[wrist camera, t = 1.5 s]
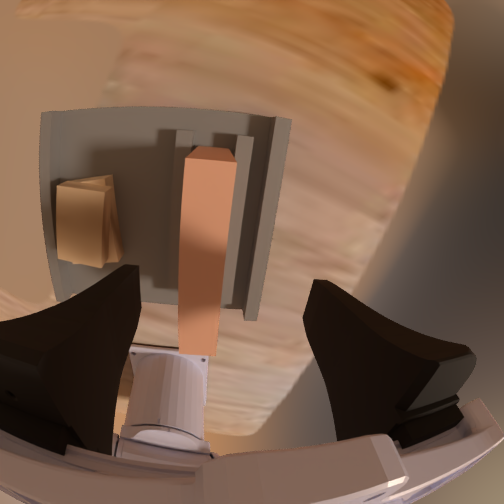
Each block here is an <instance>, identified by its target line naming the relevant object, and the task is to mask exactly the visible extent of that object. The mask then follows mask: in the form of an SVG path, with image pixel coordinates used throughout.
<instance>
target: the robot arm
mask: <svg viewBox="0 0 504 504" xmlns="http://www.w3.org/2000/svg"><path fill="white" fill-rule="evenodd" d="M141 308H142V307H141V292H140V273H139V265H130V264H124V265H122V266H121V267H119V268H118V269H116V270H114V271H113V272H112V273H110V274H109V275H107V276H106V277H104V278H103V279H101V280H100V281H98V282H97V283H95V284H94V285H92V286H90V287H89V288H87V289H85V290H84V291H82V292H80V293H79V294H77V295H75V296H73V297H72V298H70V299H68V300H66V301H64V302H61V303H59V304H57V305H55V306H52V307H50V308H47V309H45V310H42V311H39V312H37V313H34V314H31V315H27V316H24V317H20V318H16V319H12V320H7V321H1V322H0V490H1V491H3V492H5V493H7V494H8V495H10V496H12V497H14V498H15V499H17V500H19V501H21V502H23V503H25V504H411V503H413V502H415V501H417V500H419V499H420V498H422V497H424V496H426V495H428V494H430V493H431V492H433V491H435V490H437V489H438V488H440V487H442V486H443V485H445V484H447V483H448V482H450V481H452V480H453V479H455V478H456V477H457V476H459V475H461V474H462V473H464V472H465V471H467V470H468V469H469V468H471V467H472V466H473V465H475V464H476V463H477V462H478V461H480V460H481V459H482V458H483V457H484V456H486V455H487V454H488V453H489V452H490V451H491V450H492V449H494V448H495V447H496V446H497V445H498V444H499V443H500V442H501V441H502V440H503V439H504V433H503V432H502V430H501V429H500V427H499V425H498V424H497V423H496V421H495V419H494V418H493V416H492V415H491V414H490V412H489V411H488V409H487V408H486V406H485V405H484V403H483V402H482V400H481V399H480V398H477V399H475V400H473V401H471V402H469V403H467V404H465V405H464V406H462V407H461V408H460V409H459V408H458V406H457V405H456V404H457V403H458V402H459V398H458V396H457V395H456V393H457V392H458V391H459V389H460V388H461V387H462V386H463V384H464V383H465V382H466V380H467V379H468V378H469V376H470V375H471V373H472V371H473V369H474V367H475V365H476V355H475V354H474V353H473V352H472V351H471V349H470V348H469V347H467V346H466V345H462V344H457V343H452V342H448V341H443V340H440V339H436V338H433V337H430V336H427V335H424V334H421V333H418V332H416V331H414V330H411V329H409V328H406V327H404V326H402V325H400V324H398V323H396V322H394V321H392V320H390V319H388V318H386V317H384V316H382V315H381V314H379V313H378V312H376V311H374V310H373V309H371V308H369V307H368V306H366V305H365V304H363V303H362V302H360V301H358V300H357V299H356V298H354V297H353V296H351V295H350V294H349V293H347V292H346V291H344V290H343V289H341V288H340V287H338V286H337V285H335V284H333V283H332V282H330V281H328V280H318V279H314V280H313V284H312V288H311V291H310V294H309V298H308V301H307V305H306V308H305V311H304V315H303V323H304V327H305V331H306V335H307V338H308V341H309V344H310V346H311V349H312V351H313V354H314V356H315V359H316V361H317V363H318V366H319V368H320V371H321V373H322V376H323V379H324V381H325V384H326V387H327V392H328V396H329V400H330V404H331V408H332V413H333V418H334V424H335V430H336V436H337V442H332V443H326V444H319V445H313V446H306V447H298V448H289V449H278V450H265V451H252V452H243V453H235V454H226V455H223V456H219V455H218V454H217V453H214V452H210V442H207V441H204V415H203V406H205V405H206V390H207V371H208V356H204V355H188V354H179V349H172V348H162V347H152V346H143V345H135V344H132V341H133V338H134V335H135V332H136V329H137V326H138V322H139V317H140V312H141ZM128 352H129V355H130V360H131V365H132V370H133V374H134V380H133V385H132V389H131V394H130V399H129V404H128V409H127V414H126V419H125V424H124V425H122V428H121V433H120V438H119V435H118V434H116V433H113V427H114V417H115V409H116V402H117V395H118V389H119V384H120V378H121V374H122V371H123V367H124V364H125V361H126V358H127V355H128ZM134 352H135V353H134ZM202 358H204V359H202Z"/></svg>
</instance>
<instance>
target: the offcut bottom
mask: <svg viewBox="0 0 504 504" xmlns="http://www.w3.org/2000/svg"><path fill="white" fill-rule="evenodd" d="M72 181H74V182H81V183H89V184H96V185H103V186H110V187H113V190H112V201H111V213H110V228H109V254H108V260H107V261H106V263H110V262H119V260H120V259H121V257H122V256H123V254H124V250H123V245H122V239H121V233H120V227H119V221H118V215H117V208H116V200H115V192H114V184H113V174H112V175H105V176H98V177H91V178H84V179H78V180H72ZM72 263H73V264H79V263H74V262H72Z"/></svg>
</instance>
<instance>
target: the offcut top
mask: <svg viewBox="0 0 504 504" xmlns="http://www.w3.org/2000/svg"><path fill="white" fill-rule="evenodd" d="M112 190H113V187H110V186H103V185H96V184H89V183H81V182H74V181H66V182H63V183H61V184H59V185H57V196H56V234H57V255H58V259H61V260H65V261H70V262H74V263H79V264H83V265H88V266H93V267H98V268H102V267H103V265H104V264H105V263H106V261H107V260H108V254H109V228H110V213H111V201H112Z"/></svg>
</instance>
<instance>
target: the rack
mask: <svg viewBox="0 0 504 504" xmlns="http://www.w3.org/2000/svg"><path fill="white" fill-rule="evenodd" d="M291 122H292V119H287V118H282V117H266V116H260V115H253V114H245V113H237V112H229V111H219V110H208V109H195V108H178V107H107V108H91V109H79V110H68V111H49V112H42V113H41V125H40V126H41V127H40V146H39V174H40V175H39V178H40V197H41V210H42V221H43V230H44V238H45V245H46V251H47V257H48V263H49V268H50V273H51V278H52V283H53V288H54V292H55V296H56V300H57V301H59V302H64V301H66V300H68V299H69V298H70V296H71V295H72V293H75V294H79V293H80V292H82V291H84V290H85V289H87V288H89V287H90V286H92V285H94V284H95V283H97V282H98V281H100V280H101V279H103V278H104V277H106V276H107V275H109V274H110V273H112V272H113V271H114V270H116V269H118V268H119V267H121V266H122V265H124V264H130V265H139V273H140V292H141V302H149V303H160V304H171V305H178V275H179V242H180V221H181V205H182V191H183V178H184V167H185V158H186V157H187V156H188V155H189V154H190V153H191V152H192V151H193V150H195V149H196V148H197V147H198V146H208V147H219V148H228V149H229V150H230V151H231V153H232V155H233V156H234V158H235V160H236V161H237V168H236V175H235V183H234V191H233V199H232V207H231V215H230V223H229V232H228V240H227V249H226V258H225V267H224V277H223V286H222V296H221V306H220V308H227V309H242V310H243V316H244V321H257V317H258V312H259V306H260V301H261V296H262V290H263V285H264V280H265V274H266V269H267V263H268V258H269V252H270V247H271V241H272V236H273V230H274V224H275V219H276V213H277V207H278V201H279V195H280V190H281V184H282V178H283V172H284V166H285V160H286V154H287V147H288V141H289V135H290V129H291ZM112 174H113V184H114V192H115V200H116V208H117V215H118V221H119V227H120V233H121V239H122V245H123V250H124V254H123V256H122V257H121V259H120V260H119V262H110V263H105V264H104V265H103V267H102V268H98V267H93V266H88V265H83V264H73V263H72V262H70V261H65V260H61V259H58V255H57V234H56V196H57V185H59V184H61V183H63V182H66V181H72V180H78V179H84V178H91V177H98V176H105V175H112Z"/></svg>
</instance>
